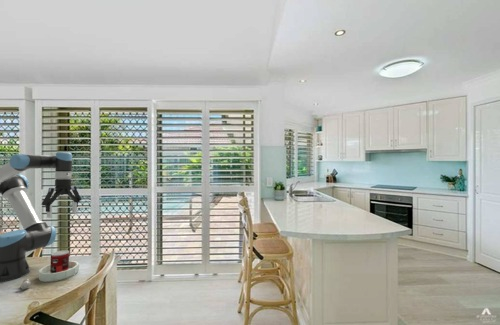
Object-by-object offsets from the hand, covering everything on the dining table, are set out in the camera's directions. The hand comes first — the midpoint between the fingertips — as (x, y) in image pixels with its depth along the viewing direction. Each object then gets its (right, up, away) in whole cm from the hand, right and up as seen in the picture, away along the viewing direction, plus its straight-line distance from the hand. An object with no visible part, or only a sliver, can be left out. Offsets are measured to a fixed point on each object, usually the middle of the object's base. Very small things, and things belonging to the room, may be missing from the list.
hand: (62, 215), depth 137 cm
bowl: (+3, -32, -6) cm, 32 cm away
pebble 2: (-1, -31, -21) cm, 38 cm away
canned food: (+3, -31, -6) cm, 32 cm away
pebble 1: (-3, -31, -18) cm, 37 cm away
